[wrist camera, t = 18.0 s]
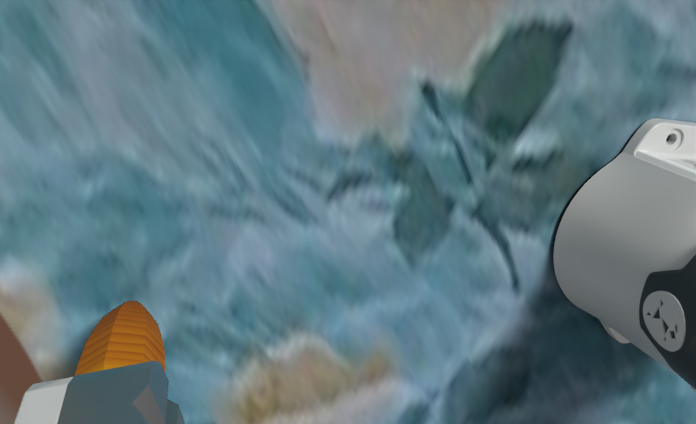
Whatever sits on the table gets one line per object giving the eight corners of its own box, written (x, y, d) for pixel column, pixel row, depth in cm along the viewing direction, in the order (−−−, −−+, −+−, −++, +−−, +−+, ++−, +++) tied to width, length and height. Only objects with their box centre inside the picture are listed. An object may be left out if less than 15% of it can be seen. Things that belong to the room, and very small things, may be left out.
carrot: (79, 315, 42) (24, 488, 28) (119, 258, 41) (83, 408, 28) (145, 347, 44) (123, 523, 30) (185, 294, 43) (182, 449, 30)
